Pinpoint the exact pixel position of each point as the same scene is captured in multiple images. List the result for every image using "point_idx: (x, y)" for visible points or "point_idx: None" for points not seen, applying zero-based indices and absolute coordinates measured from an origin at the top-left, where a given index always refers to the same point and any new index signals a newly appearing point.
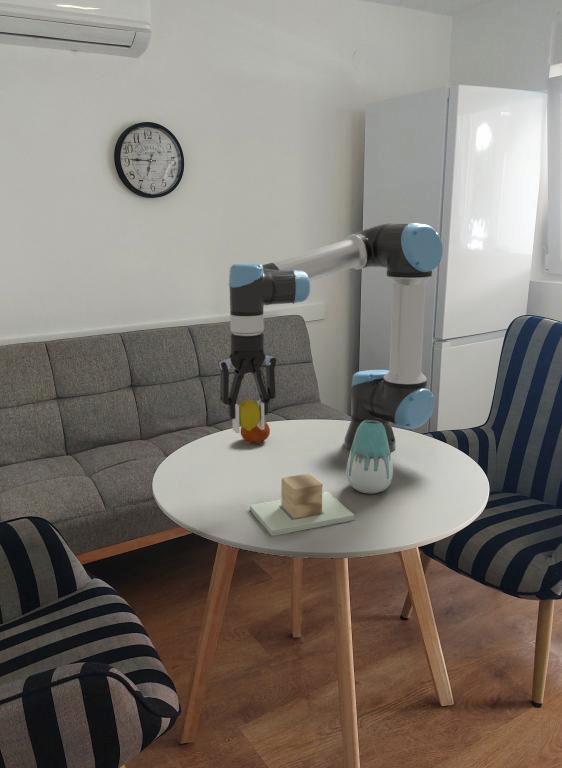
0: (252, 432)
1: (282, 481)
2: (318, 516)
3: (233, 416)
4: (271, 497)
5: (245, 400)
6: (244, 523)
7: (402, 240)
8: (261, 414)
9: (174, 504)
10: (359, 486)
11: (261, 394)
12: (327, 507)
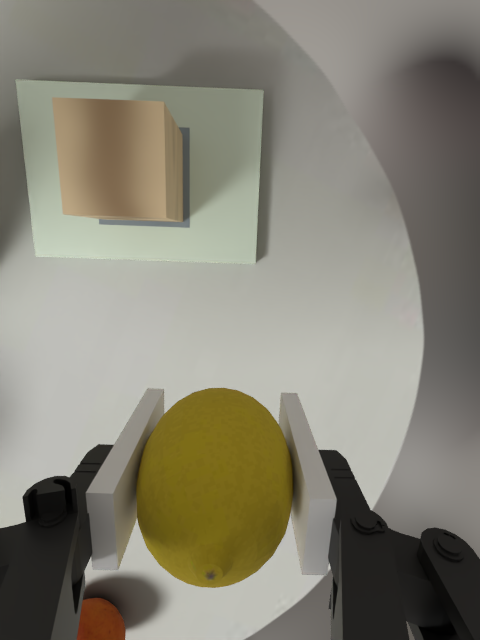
0: (99, 628)
1: (168, 209)
2: None
3: (327, 459)
4: (178, 307)
5: (234, 559)
6: (296, 197)
7: None
8: (139, 436)
9: (401, 364)
10: None
11: (68, 581)
12: None
